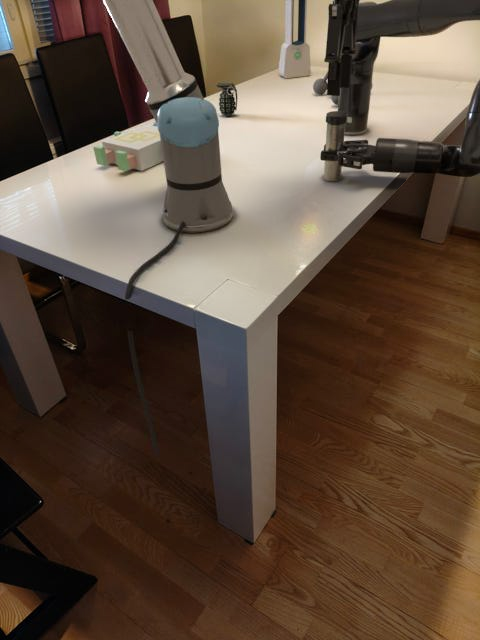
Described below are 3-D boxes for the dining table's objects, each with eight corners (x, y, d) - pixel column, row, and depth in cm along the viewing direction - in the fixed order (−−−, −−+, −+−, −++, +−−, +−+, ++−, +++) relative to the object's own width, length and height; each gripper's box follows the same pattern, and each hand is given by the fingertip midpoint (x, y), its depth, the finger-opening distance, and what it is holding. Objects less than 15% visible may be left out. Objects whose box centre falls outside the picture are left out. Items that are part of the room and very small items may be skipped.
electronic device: (283, 78, 209) (284, -5, 191) (278, 75, 215) (278, -6, 197) (310, 75, 212) (314, -8, 193) (304, 72, 217) (307, -9, 199)
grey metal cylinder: (328, 173, 124) (332, 112, 115) (343, 176, 122) (349, 114, 112) (320, 179, 121) (324, 117, 112) (335, 182, 119) (340, 119, 110)
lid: (332, 117, 116) (332, 109, 115) (350, 120, 113) (351, 112, 112) (322, 122, 113) (322, 115, 112) (340, 125, 110) (341, 117, 109)
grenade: (217, 117, 168) (214, 86, 162) (221, 112, 172) (219, 82, 166) (235, 117, 166) (233, 86, 160) (239, 113, 171) (238, 82, 165)
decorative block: (148, 117, 149) (198, 126, 139) (151, 138, 153) (200, 148, 143) (82, 141, 133) (133, 153, 123) (87, 165, 137) (138, 178, 127)
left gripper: (343, -38, 103) (335, 80, 117) (311, -32, 89) (307, 101, 104) (378, -40, 100) (366, 81, 114) (351, -34, 87) (341, 103, 101)
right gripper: (399, 130, 117) (327, 127, 121) (396, 150, 106) (318, 146, 111) (394, 160, 121) (326, 157, 126) (391, 183, 111) (316, 178, 115)
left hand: (338, 90), depth 109 cm, fingers open, 7 cm apart
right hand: (322, 151), depth 118 cm, fingers closed on grey metal cylinder, 4 cm apart
